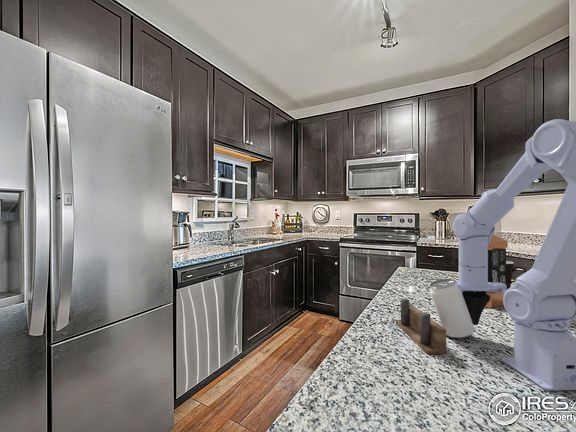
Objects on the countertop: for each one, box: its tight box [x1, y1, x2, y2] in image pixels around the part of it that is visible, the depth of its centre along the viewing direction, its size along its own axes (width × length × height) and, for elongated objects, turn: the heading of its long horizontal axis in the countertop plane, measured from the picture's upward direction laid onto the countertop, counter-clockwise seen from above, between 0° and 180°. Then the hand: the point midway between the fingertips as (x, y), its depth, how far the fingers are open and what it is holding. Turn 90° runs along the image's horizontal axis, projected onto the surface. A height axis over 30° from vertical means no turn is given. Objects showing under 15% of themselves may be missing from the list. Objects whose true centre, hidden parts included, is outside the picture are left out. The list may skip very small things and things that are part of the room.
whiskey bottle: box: [485, 233, 509, 309], centre depth 90 cm, size 10×10×32 cm
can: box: [429, 278, 475, 339], centre depth 66 cm, size 6×6×12 cm
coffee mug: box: [506, 260, 528, 289], centre depth 103 cm, size 12×9×10 cm
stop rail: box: [395, 298, 447, 355], centre depth 65 cm, size 16×4×7 cm, turn 1°
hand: (472, 323), depth 66 cm, fingers closed
